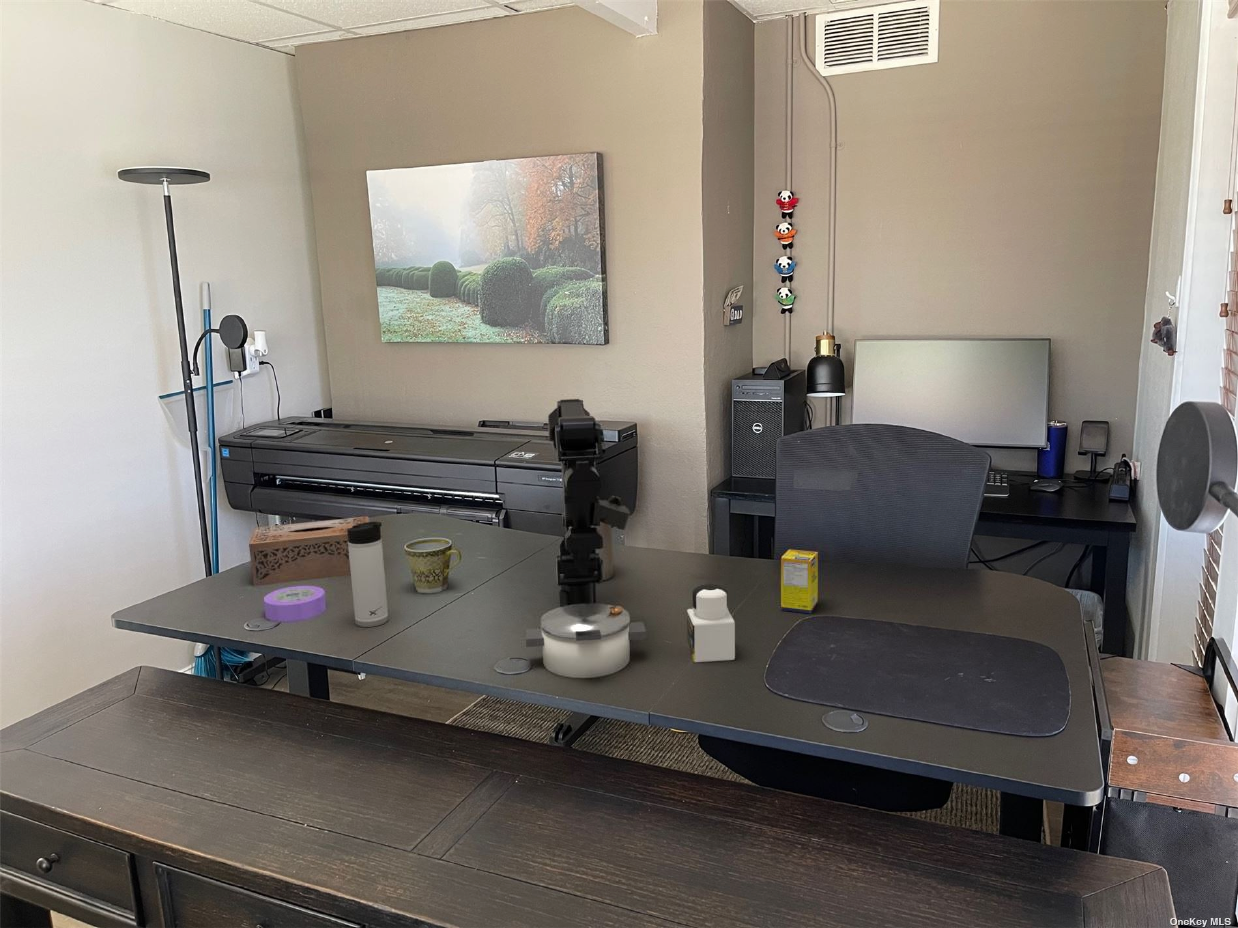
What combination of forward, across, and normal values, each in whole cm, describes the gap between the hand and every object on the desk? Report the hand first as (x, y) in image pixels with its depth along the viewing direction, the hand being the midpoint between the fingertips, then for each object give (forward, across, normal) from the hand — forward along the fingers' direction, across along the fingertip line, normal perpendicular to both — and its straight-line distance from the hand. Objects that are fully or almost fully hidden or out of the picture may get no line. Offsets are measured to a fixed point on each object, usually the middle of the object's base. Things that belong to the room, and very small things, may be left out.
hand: (583, 574), depth 159 cm
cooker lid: (+6, -8, 0) cm, 10 cm away
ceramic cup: (+13, +34, +30) cm, 48 cm away
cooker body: (+13, -7, 0) cm, 15 cm away
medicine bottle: (+13, -8, -21) cm, 26 cm away
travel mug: (+13, +18, +41) cm, 46 cm away
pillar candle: (+13, +37, -3) cm, 40 cm away
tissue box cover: (+14, +54, +60) cm, 82 cm away
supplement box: (+13, +10, -43) cm, 46 cm away
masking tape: (+14, +26, +58) cm, 65 cm away
